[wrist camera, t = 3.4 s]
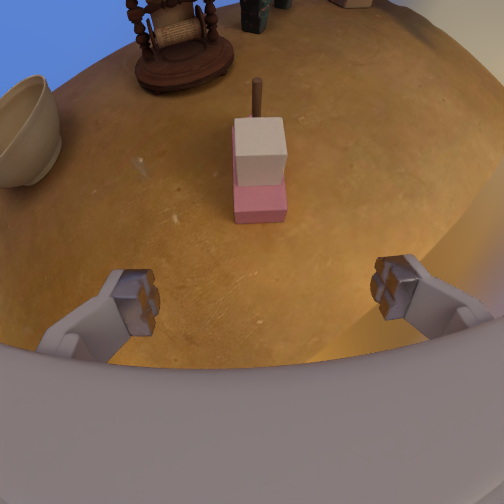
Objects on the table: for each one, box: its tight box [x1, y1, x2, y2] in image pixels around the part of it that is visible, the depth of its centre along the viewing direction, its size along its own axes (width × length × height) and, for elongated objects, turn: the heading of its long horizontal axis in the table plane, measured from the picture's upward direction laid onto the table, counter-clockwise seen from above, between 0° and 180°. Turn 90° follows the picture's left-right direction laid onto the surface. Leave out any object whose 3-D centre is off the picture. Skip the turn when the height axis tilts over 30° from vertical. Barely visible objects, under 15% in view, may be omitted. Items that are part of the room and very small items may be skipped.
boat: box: [232, 78, 288, 224], centre depth 24 cm, size 12×5×11 cm, turn 3°
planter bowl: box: [0, 75, 62, 188], centre depth 25 cm, size 16×16×11 cm
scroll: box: [126, 0, 234, 95], centre depth 24 cm, size 15×15×20 cm
